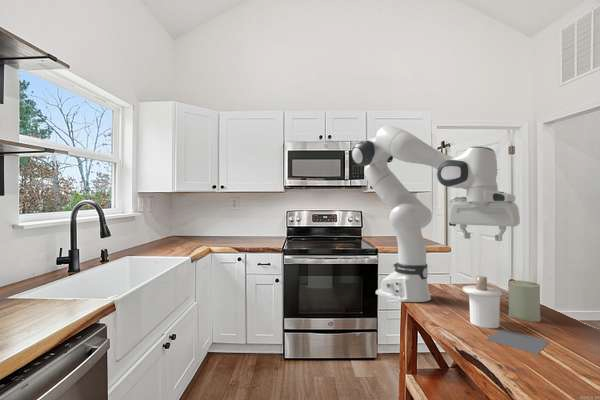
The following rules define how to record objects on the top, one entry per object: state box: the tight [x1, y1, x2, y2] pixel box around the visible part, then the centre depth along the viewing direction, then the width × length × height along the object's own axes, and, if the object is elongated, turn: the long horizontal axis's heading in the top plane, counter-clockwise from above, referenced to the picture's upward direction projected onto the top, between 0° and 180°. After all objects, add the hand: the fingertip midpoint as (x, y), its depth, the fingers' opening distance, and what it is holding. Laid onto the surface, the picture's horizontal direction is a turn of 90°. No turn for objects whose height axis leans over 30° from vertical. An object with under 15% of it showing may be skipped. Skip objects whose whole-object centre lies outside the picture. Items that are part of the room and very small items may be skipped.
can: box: [507, 280, 542, 323], centre depth 112 cm, size 9×9×12 cm
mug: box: [468, 294, 501, 329], centre depth 106 cm, size 11×9×10 cm
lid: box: [462, 275, 503, 298], centre depth 106 cm, size 11×11×5 cm
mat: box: [485, 328, 550, 355], centre depth 91 cm, size 12×12×1 cm
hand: (482, 239), depth 106 cm, fingers open, 8 cm apart
